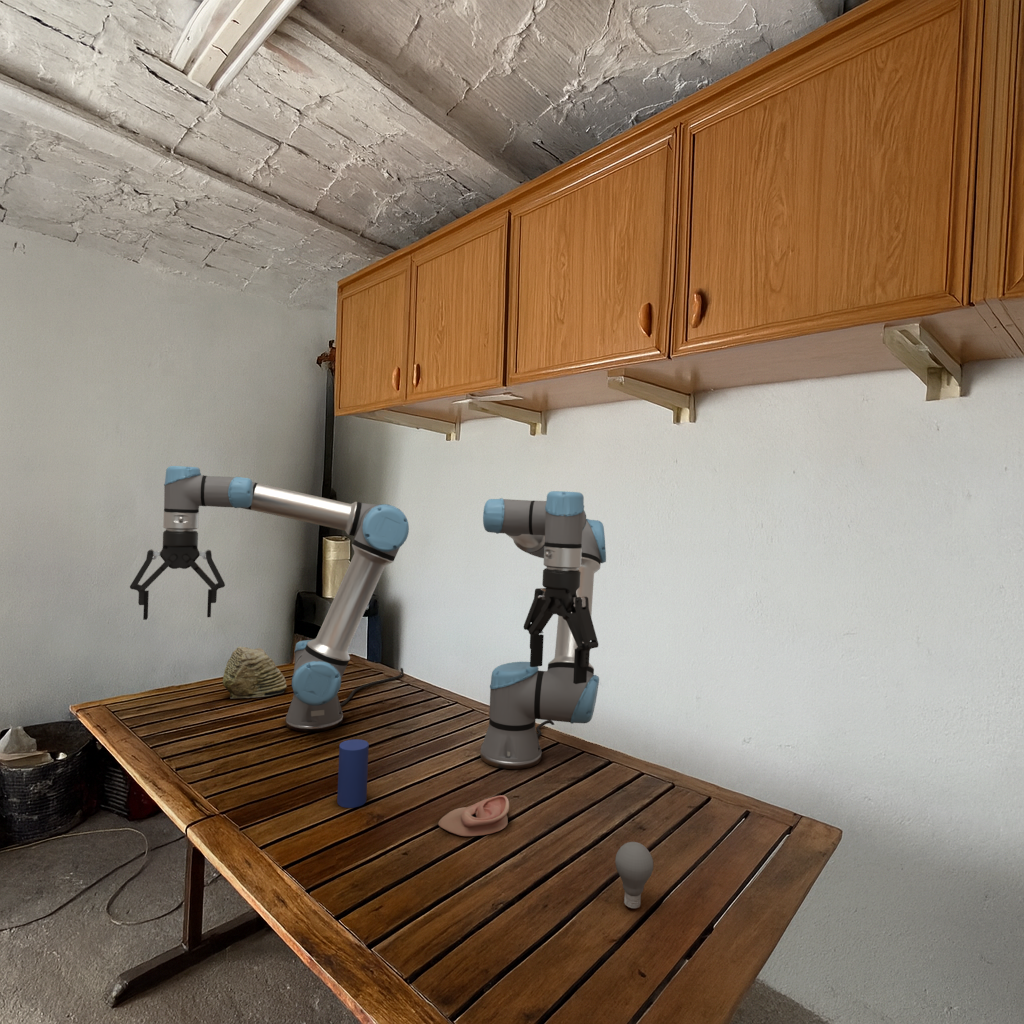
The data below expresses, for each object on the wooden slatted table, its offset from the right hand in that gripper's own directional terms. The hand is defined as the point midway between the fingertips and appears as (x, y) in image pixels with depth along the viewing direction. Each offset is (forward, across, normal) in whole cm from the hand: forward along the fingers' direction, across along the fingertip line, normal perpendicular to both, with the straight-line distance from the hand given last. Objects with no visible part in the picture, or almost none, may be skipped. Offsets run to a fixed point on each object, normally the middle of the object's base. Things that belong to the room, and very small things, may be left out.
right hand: (557, 674), depth 127 cm
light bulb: (+30, +28, -6) cm, 41 cm away
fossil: (+30, -109, -30) cm, 117 cm away
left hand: (-2, -75, -57) cm, 94 cm away
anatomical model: (+30, -8, -13) cm, 34 cm away
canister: (+30, -28, -30) cm, 51 cm away
